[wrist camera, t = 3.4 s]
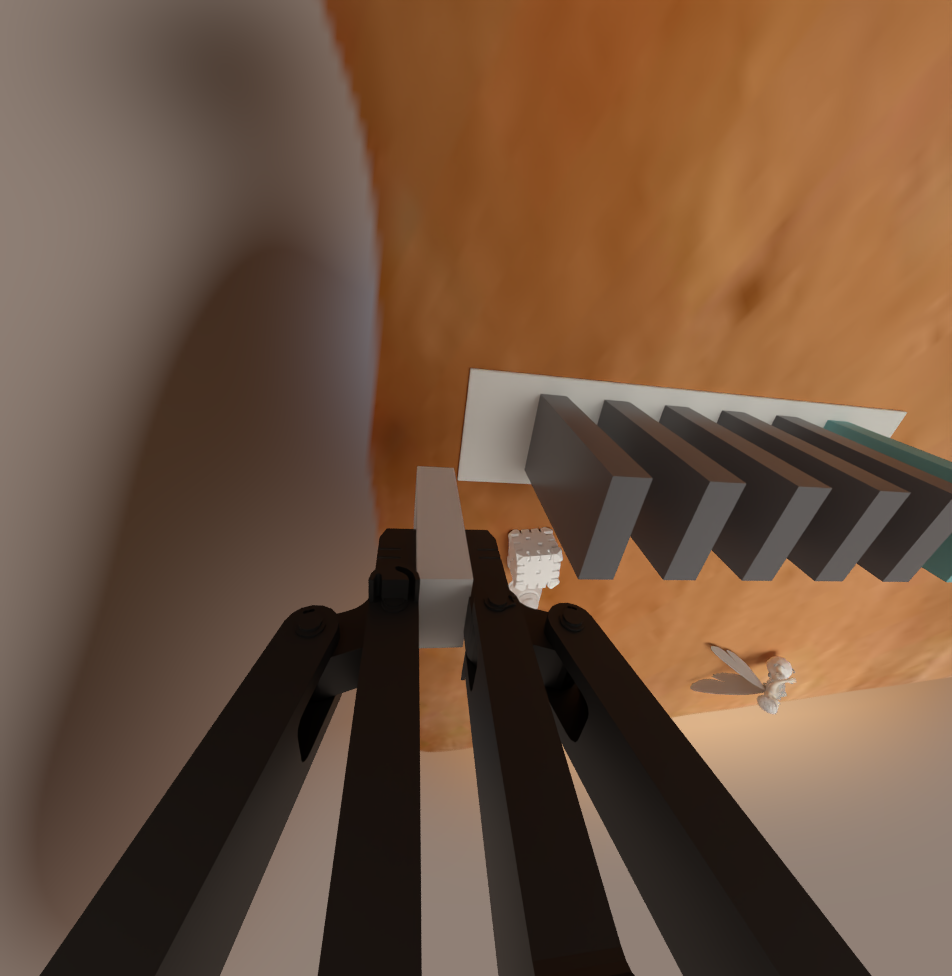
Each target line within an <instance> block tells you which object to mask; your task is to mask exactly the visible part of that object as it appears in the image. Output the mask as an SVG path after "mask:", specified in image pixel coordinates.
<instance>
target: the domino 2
mask: <svg viewBox="0 0 952 976" xmlns="http://www.w3.org/2000/svg"><path fill="white" fill-rule="evenodd" d="M597 426H599V427H600V428H601V429H602V430H603V431H604V432H605V433H606V434H607V435H608V436H609V437H610V438H611V439H612V440H613V441H614V442H615V443H616V444H617V445H618V446H620V447H621V448H622V449H623V450H624V451H625V452H626V453H627V454H628V455H629V456H630V457H631V458H632V459H633V460H634V461H635V462H636V463H637V464H638V465H639V466H640V467H642V468H643V469H644V470H645V471H646V472H647V473H648V474H649V475H650V476H651V477H652V478H653V479H652V482H651V485H650V487H649V490H648V492H647V495H646V497H645V500H644V502H643V505H642V507H641V510H640V512H639V515H638V518H637V520H636V523H635V525H634V528H633V530H632V533H631V535H630V536H631V538H632V539H633V540H634V542H635V543H636V544H637V546H638V547H639V548H640V550H641V551H642V552H643V554H644V555H645V556H646V558H647V559H648V560H649V562H650V563H651V564H652V566H653V567H654V568H655V570H656V571H657V572H658V574H659V575H660V576H661V578H662V579H663V580H696V578H697V576H698V574H699V572H700V571H701V569H702V567H703V565H704V563H705V561H706V559H707V557H708V555H709V554H710V552H711V550H712V548H713V546H714V544H715V542H716V540H717V538H718V537H719V535H720V533H721V531H722V529H723V527H724V525H725V523H726V521H727V520H728V518H729V516H730V514H731V512H732V510H733V508H734V506H735V505H736V503H737V501H738V499H739V497H740V495H741V493H742V491H743V489H744V488H745V486H746V484H747V483H745V482H744V481H742V480H741V479H739V478H738V477H736V476H735V475H734V474H732V473H731V472H729V471H728V470H726V469H725V468H724V467H722V466H721V465H719V464H718V463H716V462H715V461H713V460H712V459H711V458H709V457H708V456H706V455H705V454H703V453H702V452H701V451H699V450H698V449H696V448H695V447H693V446H692V445H691V444H689V443H688V442H686V441H685V440H683V439H682V438H680V437H679V436H678V435H676V434H675V433H673V432H672V431H670V430H669V429H668V428H666V427H665V426H663V425H662V424H660V423H659V422H658V421H656V420H655V419H653V418H652V417H650V416H649V415H647V414H646V413H645V412H643V411H642V410H640V409H639V408H637V407H636V406H635V405H633V404H632V403H630V402H626V401H615V400H604V403H603V407H602V410H601V413H600V417H599V420H598V424H597Z"/></svg>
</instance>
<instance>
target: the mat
mask: <svg viewBox="0 0 952 976" xmlns="http://www.w3.org/2000/svg"><path fill="white" fill-rule="evenodd" d="M540 394H549V395H560V396H567V397H568V398H569V399H570V400H571V401H572V402H573V403H574V404H575V405H576V406H578V407H579V408H580V409H581V410H582V411H583V412H584V413H585V414H586V415H587V416H588V417H589V418H590V419H591V420H592V421H593V422H594V423H595V424H596V425H597V424H598V420H599V417H600V413H601V410H602V407H603V403H604V400H615V401H626V402H630V403H632V404H633V405H635V406H636V407H637V408H639V409H640V410H642V411H643V412H645V413H646V414H647V415H649V416H650V417H652V418H653V419H655V420H656V421H658V422H659V420H660V417H661V415H662V412H663V409H664V407H665V405H670V406H681V407H689V408H691V409H692V410H694V411H696V412H698V413H700V414H701V415H703V416H705V417H707V418H708V419H710V420H712V421H714V422H716V423H717V421H718V419H719V417H720V414H721V412H722V410H725V411H736V412H745V413H747V414H749V415H751V416H753V417H755V418H757V419H759V420H761V421H763V422H766V423H768V424H770V425H772V423H773V421H774V419H775V417H776V415H780V416H791V417H798V418H801V419H803V420H805V421H808V422H810V423H812V424H815V425H817V426H819V427H822V428H823V427H824V426H825V424H826V422H827V420H835V421H846V422H850V423H852V424H855V425H857V426H860V427H863V428H865V429H868V430H870V431H873V432H875V433H878V434H881V435H883V436H886V437H888V438H890V437H891V435H892V434H893V432H894V431H895V430H896V428H897V427H898V425H899V424H900V422H901V421H902V419H903V418H904V416H905V415H906V414H907V412H905V411H899V410H889V409H878V408H868V407H858V406H848V405H838V404H828V403H818V402H808V401H798V400H788V399H778V398H768V397H758V396H748V395H738V394H728V393H718V392H708V391H698V390H688V389H678V388H668V387H658V386H648V385H637V384H627V383H617V382H607V381H597V380H587V379H577V378H567V377H557V376H547V375H537V374H527V373H517V372H507V371H497V370H487V369H477V368H470V376H469V384H468V393H467V401H466V410H465V418H464V427H463V436H462V444H461V453H460V461H459V470H458V480H460V481H480V482H500V483H520V484H531V482H530V480H529V478H528V476H527V474H526V472H525V465H526V460H527V456H528V451H529V446H530V441H531V437H532V432H533V427H534V422H535V417H536V413H537V408H538V403H539V398H540Z"/></svg>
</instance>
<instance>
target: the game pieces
mask: <svg viewBox="0 0 952 976" xmlns="http://www.w3.org/2000/svg"><path fill="white" fill-rule="evenodd" d="M552 533H553V531H552V529H549V528H547V527H542V528H540V532H539V529H531V531H530V532H529V529H524V530H521V533H520V532H519V530H517V529H515V530H512V531H511V532H510V533H509V534H508V538H509V549H508V554H509V555H508V557H507V564H508V568H510V572H511V575H512V579H513V581H512V582H511V583H510V584H509V585H508V586H509V589H510V590H511V591H512V592H513V593H514V594H515V595H516V596H517V598H518V599H519V601H520V603H522V604H524V605H526V606H528V607H531V608H534V609H537V608H538V605H539V604H538V602H539V599H540V596H541V593H542V588H545V587H546V584H547V587H549V588H550V589H552V588H554V587H555V586H556V585H558V584H559V579H558V577H559V570H560V565H561V564H560V562H561V561H562V560H563V557H562V550H561V548H559V547H558V544H557V542H556V541H555V538H554V536H553V535H552Z"/></svg>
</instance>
